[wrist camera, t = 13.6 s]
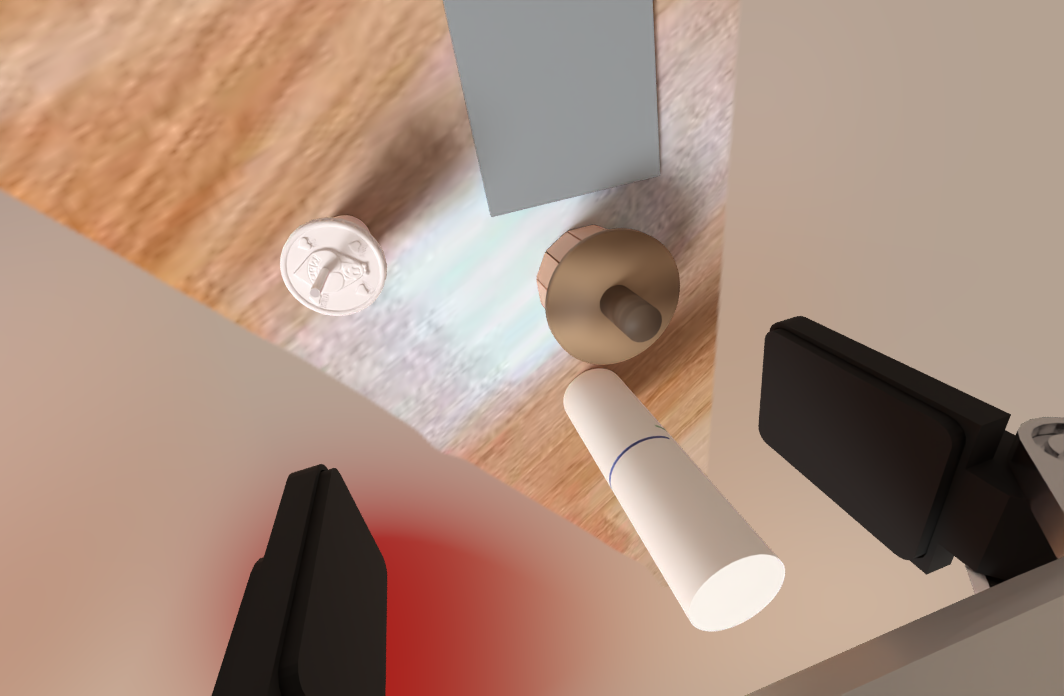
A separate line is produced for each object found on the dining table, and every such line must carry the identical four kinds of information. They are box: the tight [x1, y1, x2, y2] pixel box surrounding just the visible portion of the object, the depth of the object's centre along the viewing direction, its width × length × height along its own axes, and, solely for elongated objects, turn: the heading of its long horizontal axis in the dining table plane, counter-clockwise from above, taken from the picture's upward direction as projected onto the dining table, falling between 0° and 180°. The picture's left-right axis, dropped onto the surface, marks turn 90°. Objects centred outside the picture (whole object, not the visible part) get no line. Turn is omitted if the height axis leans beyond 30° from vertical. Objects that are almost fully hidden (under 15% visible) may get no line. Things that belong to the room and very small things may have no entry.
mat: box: [443, 0, 660, 217], centre depth 37 cm, size 16×16×1 cm
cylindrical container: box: [564, 368, 785, 631], centre depth 41 cm, size 7×7×25 cm
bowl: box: [536, 225, 608, 308], centre depth 43 cm, size 10×10×6 cm
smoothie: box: [280, 215, 387, 316], centre depth 32 cm, size 6×6×14 cm
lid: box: [545, 228, 680, 365], centre depth 37 cm, size 12×12×6 cm
